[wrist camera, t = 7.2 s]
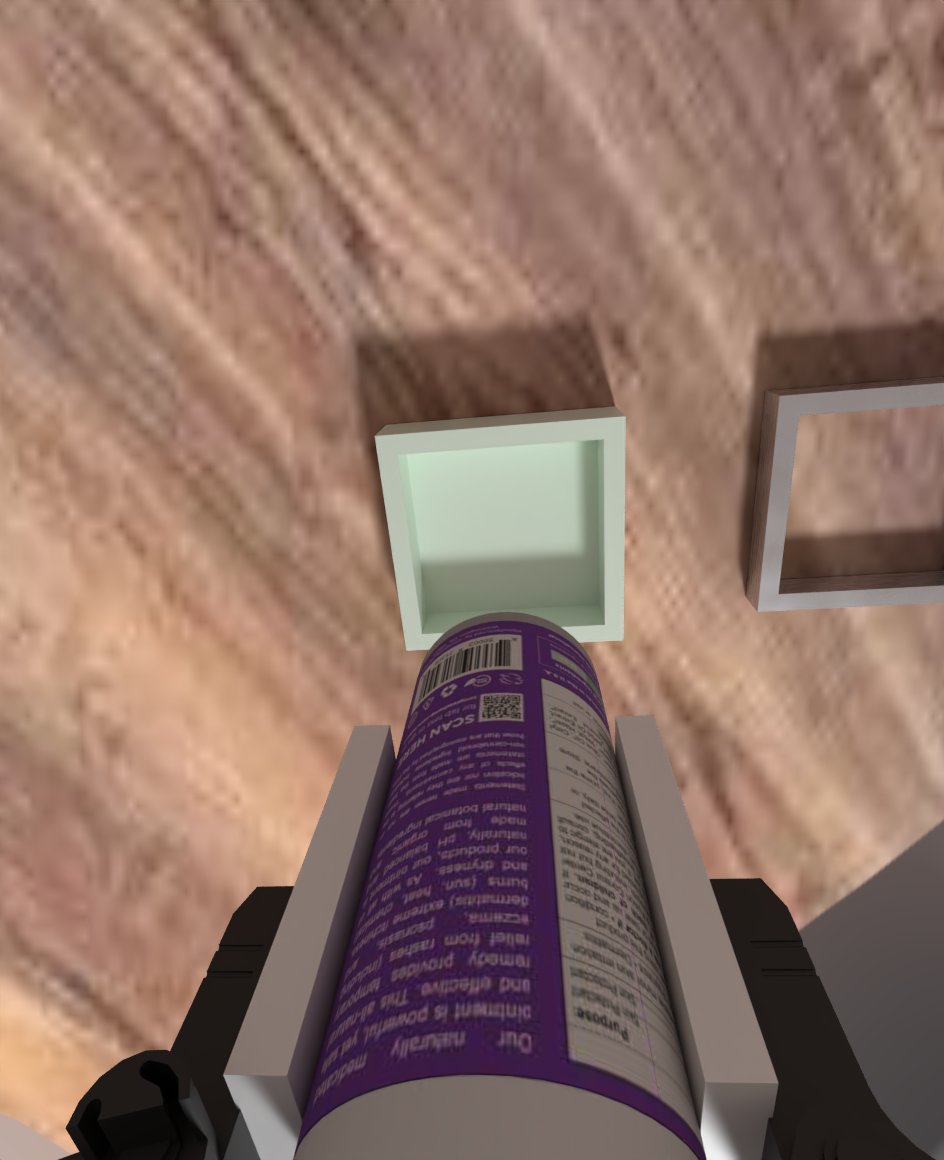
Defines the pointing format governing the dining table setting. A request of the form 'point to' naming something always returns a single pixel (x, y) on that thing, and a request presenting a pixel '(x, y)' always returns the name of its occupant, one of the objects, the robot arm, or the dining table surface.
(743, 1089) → the robot arm
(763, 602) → the collar
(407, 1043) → the container
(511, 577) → the tray
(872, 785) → the dining table surface
